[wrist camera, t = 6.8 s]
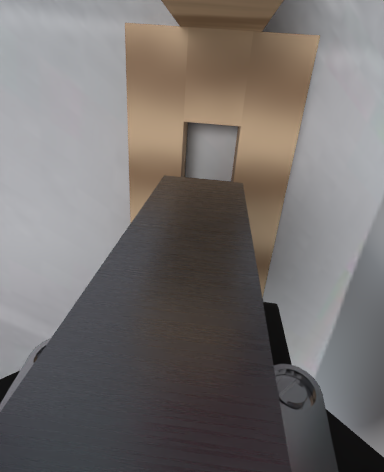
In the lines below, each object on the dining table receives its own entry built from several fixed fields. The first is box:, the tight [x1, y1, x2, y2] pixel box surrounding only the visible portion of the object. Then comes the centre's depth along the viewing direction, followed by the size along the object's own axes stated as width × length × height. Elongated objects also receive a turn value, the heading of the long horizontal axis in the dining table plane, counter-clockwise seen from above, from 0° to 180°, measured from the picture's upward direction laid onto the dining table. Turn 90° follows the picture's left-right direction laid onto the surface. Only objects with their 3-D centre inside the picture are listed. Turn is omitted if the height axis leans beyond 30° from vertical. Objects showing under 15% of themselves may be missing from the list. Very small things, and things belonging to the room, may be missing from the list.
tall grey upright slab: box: [0, 175, 291, 472], centre depth 8 cm, size 7×3×10 cm, turn 176°
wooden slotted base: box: [125, 0, 320, 298], centre depth 18 cm, size 25×12×14 cm, turn 176°
